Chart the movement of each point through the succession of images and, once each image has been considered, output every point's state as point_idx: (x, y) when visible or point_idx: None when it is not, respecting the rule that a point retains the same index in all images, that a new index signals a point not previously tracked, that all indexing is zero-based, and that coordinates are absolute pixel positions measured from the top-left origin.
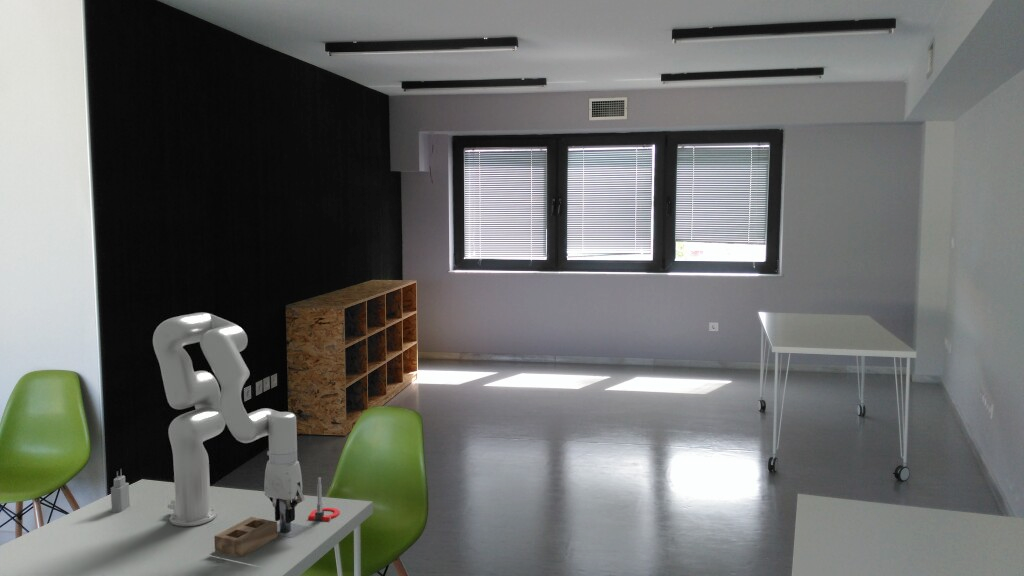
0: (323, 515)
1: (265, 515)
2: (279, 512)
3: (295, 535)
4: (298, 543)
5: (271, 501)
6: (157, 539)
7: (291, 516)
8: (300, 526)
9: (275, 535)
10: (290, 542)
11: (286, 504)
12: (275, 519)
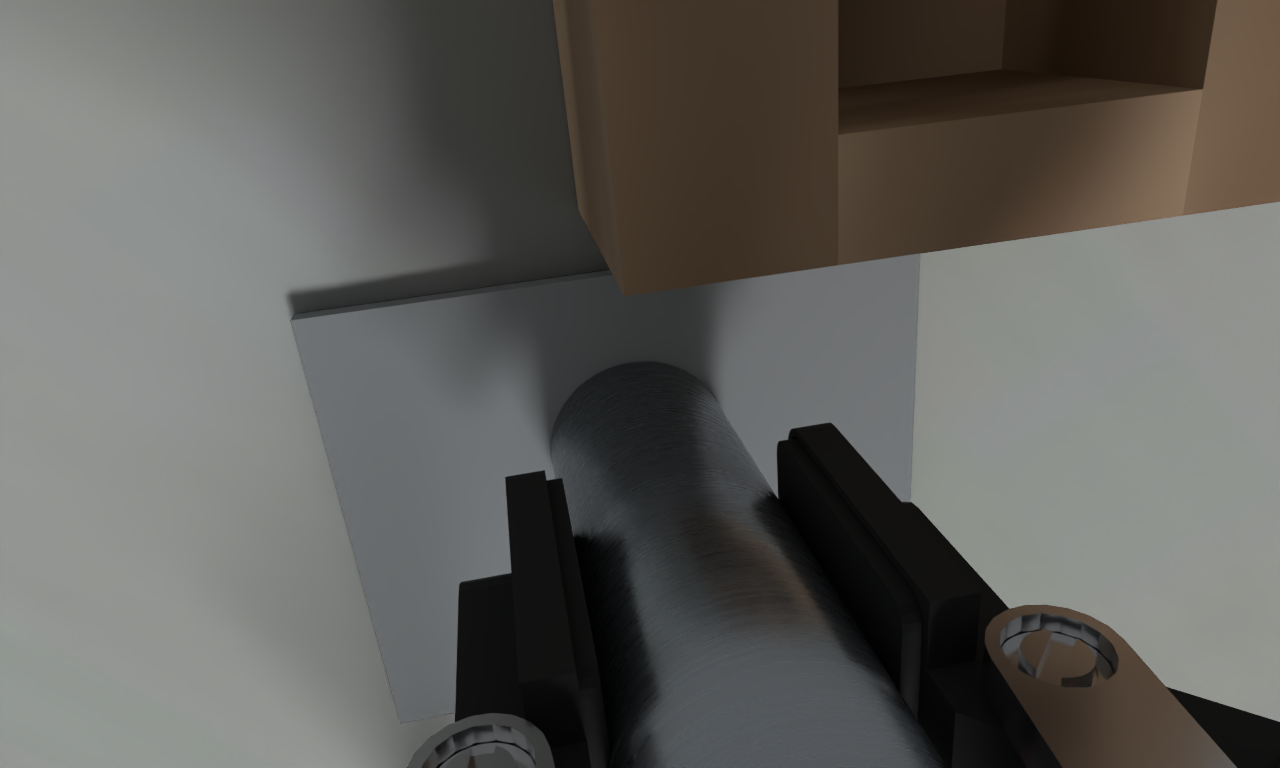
0: None
1: (1238, 622)
2: (797, 564)
3: (341, 411)
4: (26, 231)
5: (1244, 714)
6: None
7: (462, 626)
8: None
9: (579, 171)
10: (198, 185)
11: None
12: (831, 433)
